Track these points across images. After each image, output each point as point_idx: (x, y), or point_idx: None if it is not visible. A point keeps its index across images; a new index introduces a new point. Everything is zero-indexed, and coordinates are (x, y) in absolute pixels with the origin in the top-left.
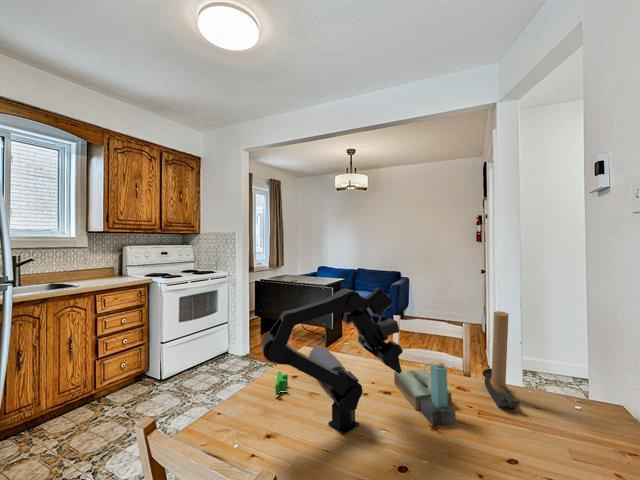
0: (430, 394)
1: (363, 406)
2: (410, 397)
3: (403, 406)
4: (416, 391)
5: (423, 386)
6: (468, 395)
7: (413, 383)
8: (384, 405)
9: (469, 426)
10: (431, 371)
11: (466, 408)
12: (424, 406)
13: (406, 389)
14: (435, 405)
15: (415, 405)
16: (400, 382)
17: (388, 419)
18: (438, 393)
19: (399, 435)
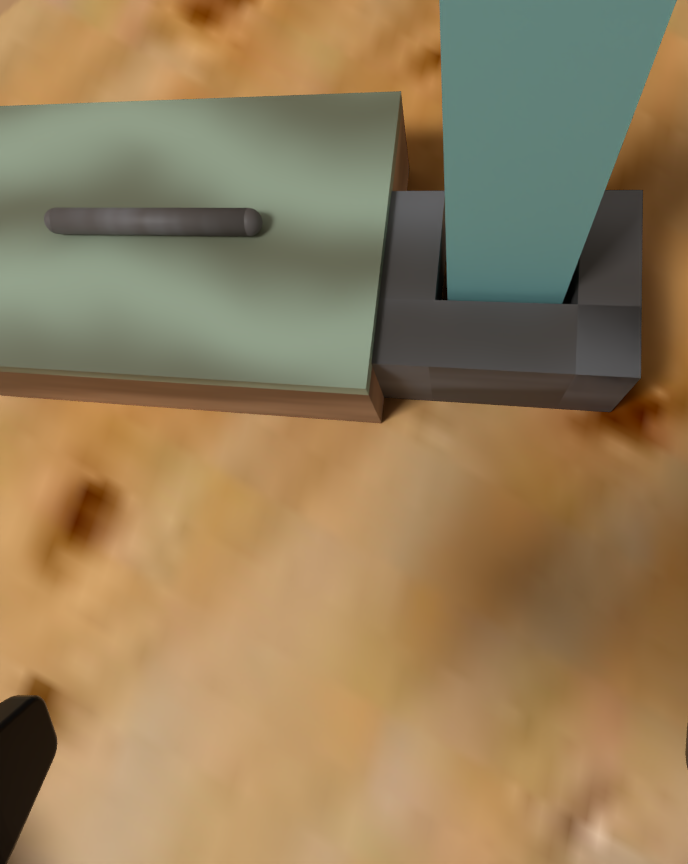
0: (381, 256)
1: (211, 822)
2: (276, 402)
3: (307, 486)
4: (299, 344)
5: (238, 245)
6: (307, 4)
7: (163, 300)
8: (250, 629)
9: (651, 180)
10: (465, 91)
11: None
12: (478, 379)
13: (190, 388)
14: (519, 296)
15: (372, 413)
16: (69, 380)
17: (448, 701)
18: (592, 220)
19: (680, 729)
